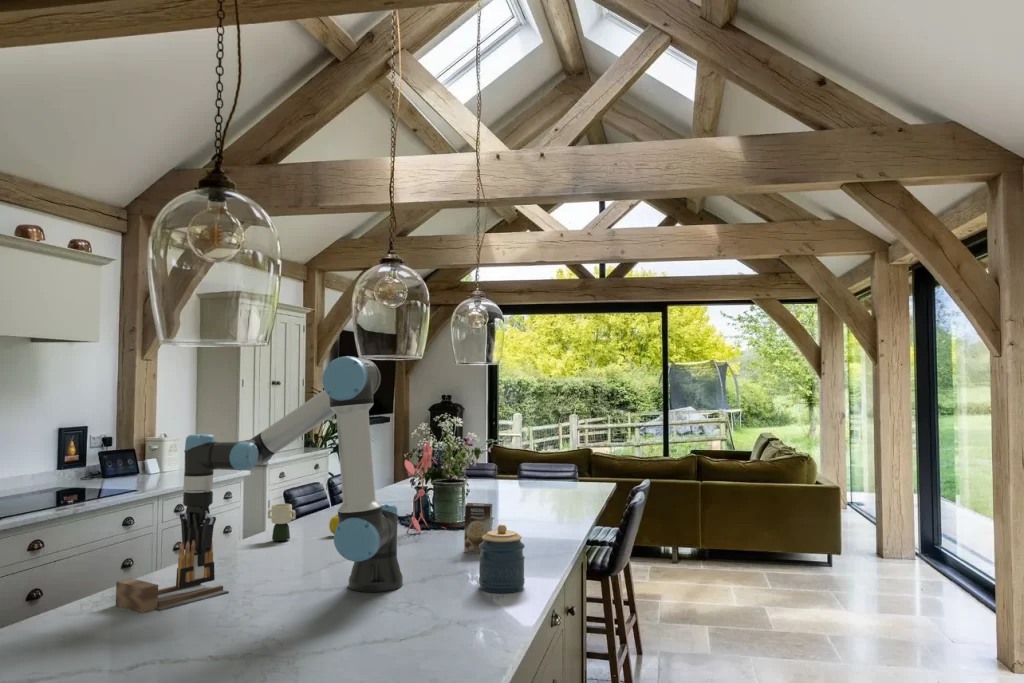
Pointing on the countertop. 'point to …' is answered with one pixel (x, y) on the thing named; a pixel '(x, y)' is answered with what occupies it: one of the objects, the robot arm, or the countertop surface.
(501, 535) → the canister
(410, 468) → the figurine
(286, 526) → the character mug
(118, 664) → the countertop surface
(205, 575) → the ammunition clip
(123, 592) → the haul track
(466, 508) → the coffee box
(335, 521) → the lemon
